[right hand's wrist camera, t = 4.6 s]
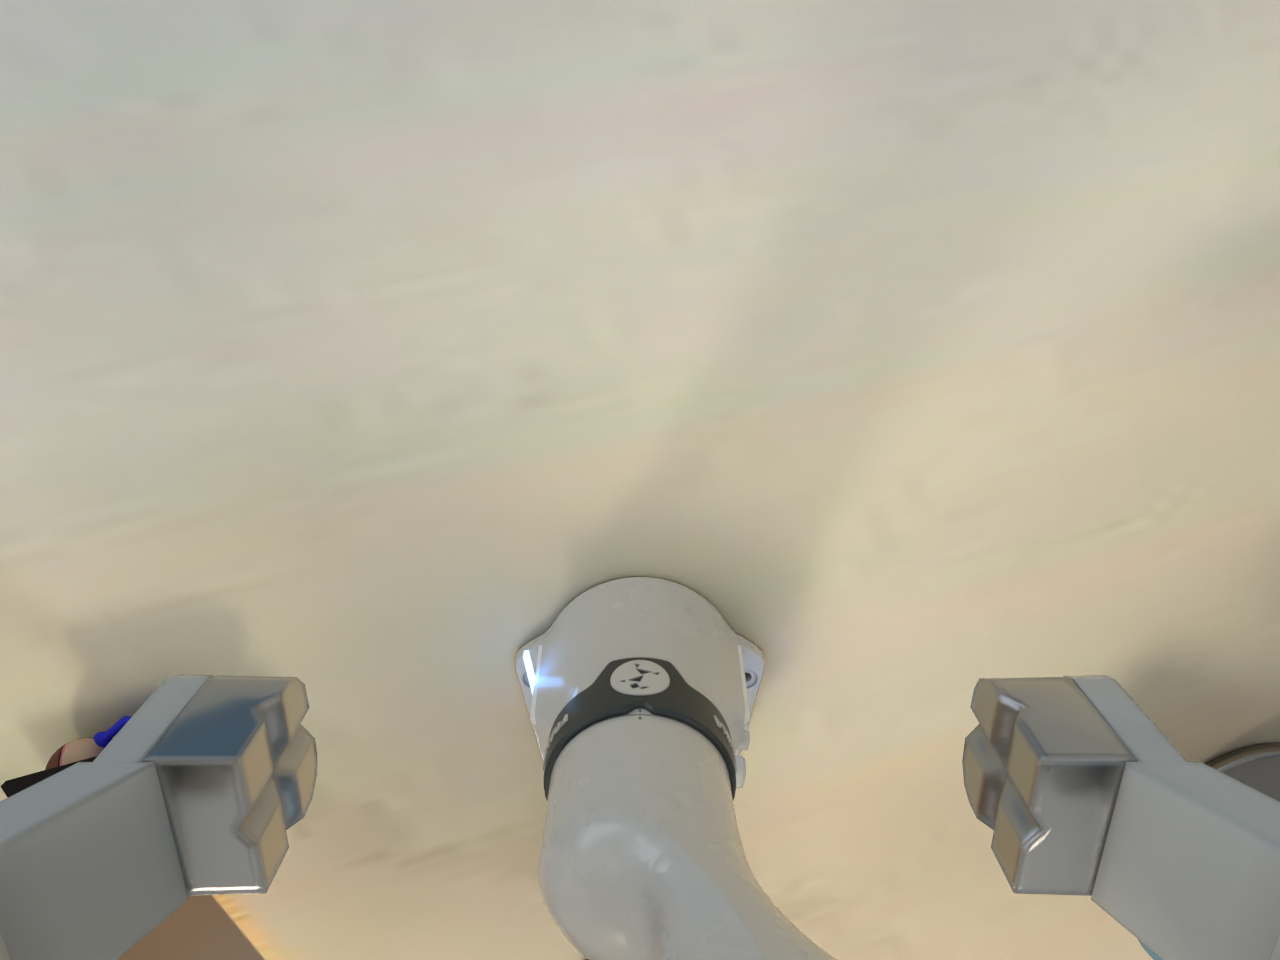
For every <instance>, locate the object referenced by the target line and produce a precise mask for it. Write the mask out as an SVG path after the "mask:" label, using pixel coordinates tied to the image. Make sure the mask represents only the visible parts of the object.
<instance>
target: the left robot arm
mask: <svg viewBox="0 0 1280 960" xmlns="http://www.w3.org/2000/svg"><path fill="white" fill-rule="evenodd" d="M1206 765H1208V766H1210V767H1212V768H1214V769H1216V770H1218V771H1220V772H1222V773H1224V774H1226V775H1228V776H1230V777H1232V778H1234V779H1236V780H1238V781H1240V782H1242V783H1244V784H1246V785H1247V786H1249V787H1251V788H1253V789H1255V790H1257V791H1259V792H1261V793H1263V794H1265V795H1267V796H1269V797H1271V798H1273V799H1275V800H1277V801H1279V802H1280V744H1279V743H1276V744H1263V745H1256V746H1251V747H1247V748H1243V749H1239V750H1236V751H1234V752H1231V753H1228V754H1226V755H1223V756H1221V757H1219V758H1217V759H1215V760H1213V761H1211V762H1210V763H1208V764H1206ZM1138 940H1139V939H1138ZM1139 942H1140V944H1141V945H1142V947H1143V948H1144V949H1145V950H1146V952H1147V953H1148V954H1149V955H1150V956H1151V957H1152V958H1153V959H1154V960H1163V959H1161V958H1160V957H1159V956H1158V955H1157V954H1156V953H1154V952H1153V951H1152V950H1151V949H1150V948H1148V947H1147V946H1146V945H1145V944H1144V943H1142V942H1141V941H1140V940H1139Z"/></svg>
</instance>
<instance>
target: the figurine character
mask: <svg viewBox="0 0 1280 960" xmlns="http://www.w3.org/2000/svg"><path fill="white" fill-rule="evenodd" d="M130 719H131V717H130V716H124V717H122V718H121V719H120V720H119V721H118V722H117V723H115V724H114V725H113V726H112V727H111V728H110V729H108V730H107V731H106V732H98V733H97V734H95V736H94V738H82V739H77V740H74V741H71V742H69V743H67V744H65V745H64V746H62V747H61V748H59V749H58V750H57V751H56V752H55V753H54V754H53V756H52V757H51V758H50V760H49V762H48V764H47V766H46V769H45V770H44V771H40V772H37V773H33V774H30V775H26V776H22V777H19V778H15V779H12V780H8V781H5V783H4V784H3V785H2V786H1V788H2V789H3V791H4V792H5V794H6V796H7V797H8V798H9V797H11V796H13V795H15V794H16V793H18V792H20V791H22V790H24V789H26V788H28V787H30V786H32V785H34V784H36V783H38V782H40V781H42V780H44V779H46V778H48V777H50V776H52V775H54V774H56V773H58V772H60V771H62V770H64V769H66V768H68V767H70V766H72V765H74V764H76V763H78V762H93V761H94V760H95V759H96V757H97V756H98V755H99V754H100V753H101V752H102V751H103V749H104V748H105V747H106V746H107V745H108V744H109V743H110V741H111V740H112V738H113V737H114V736H115V735H116V734H117V733H118V732H119V731H120V730H121V729H122V728H123V727H124V725H125V724H126V723H127V722H128V721H129V720H130Z"/></svg>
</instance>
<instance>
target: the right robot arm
mask: <svg viewBox="0 0 1280 960" xmlns="http://www.w3.org/2000/svg"><path fill="white" fill-rule="evenodd" d="M515 667H516V671H517V675H518V678H519V682H520V685H521V688H522V692H523V695H524V698H525V702H526V705H527V709H528V712H529V715H530V719H531V723H532V726H533V729H534V732H535V736H536V739H537V742H538V746H539V749H540V753H541V756H542V759H543V763H544V766H543V770H545V771H544V790H545V796H546V799H547V807H546V814H545V822H544V829H543V837H542V844H541V851H540V859H539V867H538V875H539V883H540V889H541V893H542V896H543V899H544V902H545V905H546V907H547V909H548V911H549V913H550V915H551V916H552V918H553V920H554V921H555V923H556V925H557V926H558V927H559V929H560V930H561V932H562V933H563V934H564V936H565V937H566V939H567V940H568V941H569V942H570V943H571V945H572V946H573V947H574V948H575V949H576V950H577V951H578V952H579V953H581V954H582V955H583V956H584V957H586V958H587V960H837V959H835V958H834V957H832V956H831V955H830V954H828V953H827V952H826V951H824V950H823V949H821V948H820V947H819V946H818V945H816V944H815V943H814V942H813V941H812V940H810V939H809V938H808V937H807V936H806V935H804V934H803V933H802V932H801V931H800V930H799V929H798V928H797V927H796V926H795V925H794V924H793V923H792V922H791V921H790V920H789V919H788V918H787V917H786V916H785V915H784V914H783V913H782V912H781V911H780V910H779V908H778V907H777V906H776V905H775V904H774V903H773V902H772V900H771V899H770V898H769V897H768V895H767V894H766V893H765V892H764V890H763V889H762V887H761V886H760V884H759V883H758V881H757V880H756V878H755V877H754V875H753V873H752V871H751V869H750V867H749V865H748V862H747V859H746V856H745V853H744V849H743V845H742V842H741V838H740V834H739V830H738V825H737V821H736V816H735V810H734V805H733V800H734V796H735V790H736V789H740V788H742V787H743V784H744V780H745V773H746V763H745V759H744V758H743V757H742V756H739V753H740V750H747V749H748V746H749V739H750V735H749V731H746V729H747V726H748V723H749V719H750V715H751V712H752V709H753V705H754V702H755V699H756V695H757V692H758V688H759V685H760V682H761V678H762V675H763V672H764V667H765V660H764V654H763V652H762V651H761V649H760V648H759V647H757V646H756V645H755V644H753V643H752V642H750V641H748V640H747V639H745V638H743V637H741V636H740V635H738V634H736V633H735V632H734V631H733V630H732V629H731V628H730V627H729V625H728V624H727V623H726V621H725V620H724V618H723V617H722V616H721V614H720V613H719V612H718V611H717V609H716V608H715V607H714V606H713V605H712V604H711V603H710V602H709V601H707V600H706V599H705V598H704V597H702V596H701V595H700V594H698V593H696V592H695V591H693V590H691V589H689V588H687V587H685V586H683V585H681V584H678V583H675V582H672V581H669V580H664V579H659V578H652V577H628V578H621V579H616V580H611V581H608V582H605V583H602V584H599V585H597V586H595V587H593V588H591V589H589V590H587V591H585V592H584V593H582V594H580V595H579V596H578V597H576V598H575V599H574V600H573V601H571V602H570V603H569V604H568V605H567V606H566V607H565V608H564V609H563V611H562V612H561V613H560V614H559V616H558V617H557V619H556V620H555V621H554V623H553V624H552V625H551V627H550V628H549V629H548V630H547V631H546V632H545V633H544V634H542V635H540V636H539V637H537V638H535V639H533V640H532V641H530V642H528V643H527V644H525V645H524V646H523V647H521V648H520V649H519V651H518V652H517V654H516V661H515ZM534 673H535V674H534ZM745 673H749V675H748V676H746V677H745ZM308 709H309V703H308V699H307V694H306V689H305V684H304V683H303V682H302V681H301V680H299V679H298V678H297V677H257V676H215V677H214V676H211V675H197V676H173V677H170V678H167V679H165V680H164V681H163V682H162V683H161V684H160V685H159V686H158V688H157V689H156V690H155V691H154V692H153V693H152V694H151V696H150V697H149V698H148V699H147V700H146V701H145V702H144V704H143V705H142V706H141V707H140V708H139V709H138V711H137V712H136V713H135V714H134V715H133V716H132V717H131V719H130V720H129V721H128V722H127V723H126V724H125V725H124V727H123V728H122V729H121V730H120V731H119V732H118V733H117V735H116V736H115V737H114V738H113V739H112V740H111V741H110V743H109V744H108V745H107V746H106V747H105V748H104V749H103V751H102V752H101V753H100V754H99V755H98V756H97V757H96V759H95V760H94V761H93V762H78V763H76V764H74V765H72V766H70V767H68V768H66V769H64V770H62V771H60V772H58V773H56V774H54V775H52V776H50V777H48V778H46V779H44V780H42V781H40V782H38V783H36V784H34V785H32V786H30V787H28V788H26V789H24V790H22V791H20V792H18V793H16V794H15V795H13V796H11V797H9V798H7V799H5V800H3V801H1V802H0V960H118V959H119V958H120V957H121V956H122V955H124V954H125V953H126V952H127V951H128V950H130V949H131V948H132V947H133V946H134V945H135V944H137V943H138V942H139V941H140V940H141V939H143V938H144V937H145V936H146V935H147V934H149V933H150V932H151V931H152V930H153V929H154V928H156V927H157V926H158V925H159V924H160V923H162V922H163V921H164V920H165V919H166V918H168V917H169V916H170V915H171V914H172V913H174V912H175V911H176V910H177V909H178V908H179V907H181V906H182V905H183V904H184V903H185V902H187V901H188V899H189V897H188V895H222V894H257V893H266V892H267V890H268V888H269V886H270V884H271V882H272V880H273V878H274V876H275V874H276V872H277V870H278V868H279V866H280V864H281V862H282V860H283V858H284V856H285V854H286V852H287V850H288V848H289V845H288V839H287V834H286V830H287V829H288V828H290V827H291V826H293V825H294V824H295V823H297V822H298V821H300V820H301V819H303V817H304V815H305V813H306V811H307V809H308V807H309V804H310V802H311V800H312V796H313V792H314V787H315V782H316V777H317V751H316V744H315V738H314V737H313V736H312V735H311V734H310V733H309V732H308V731H307V730H306V729H305V728H304V727H303V726H302V725H301V724H300V723H301V721H302V720H303V718H304V716H305V714H306V712H307V711H308ZM971 709H972V711H973V712H974V714H975V716H976V718H977V720H978V721H979V723H980V724H979V725H978V726H977V727H976V728H975V729H974V730H973V731H972V732H971V733H970V734H969V735H968V736H967V737H966V738H965V745H964V753H963V761H962V762H963V775H964V785H965V789H966V792H967V796H968V799H969V802H970V805H971V807H972V809H973V811H974V813H975V815H976V817H977V819H979V820H980V821H982V822H983V823H985V824H986V825H987V826H989V827H990V828H992V829H993V830H994V834H993V839H992V845H991V848H992V850H993V852H994V854H995V856H996V858H997V860H998V862H999V864H1000V866H1001V868H1002V870H1003V872H1004V874H1005V876H1006V878H1007V880H1008V882H1009V884H1010V886H1011V888H1012V890H1013V892H1014V893H1021V894H1056V895H1092V897H1091V900H1093V901H1094V902H1095V903H1096V904H1097V905H1099V906H1100V907H1101V908H1102V909H1103V910H1105V911H1106V912H1107V913H1108V914H1109V915H1110V916H1112V917H1113V918H1114V919H1115V920H1116V921H1118V922H1119V923H1120V924H1121V925H1122V926H1123V927H1125V928H1126V929H1127V930H1128V931H1129V932H1131V933H1132V934H1133V935H1134V936H1135V937H1137V938H1138V939H1139V940H1140V941H1141V942H1142V943H1144V944H1145V945H1146V946H1147V947H1148V948H1150V949H1151V950H1152V951H1153V952H1154V953H1156V954H1157V955H1158V956H1159V957H1160V958H1161V959H1163V960H1280V802H1279V801H1277V800H1275V799H1273V798H1271V797H1269V796H1267V795H1265V794H1263V793H1261V792H1259V791H1257V790H1255V789H1253V788H1251V787H1249V786H1247V785H1246V784H1244V783H1242V782H1240V781H1238V780H1236V779H1234V778H1232V777H1230V776H1228V775H1226V774H1224V773H1222V772H1220V771H1218V770H1216V769H1214V768H1212V767H1210V766H1208V765H1206V764H1204V763H1202V762H1187V761H1186V760H1185V759H1184V757H1183V756H1182V755H1181V754H1180V753H1179V752H1178V751H1177V749H1176V748H1175V747H1174V746H1173V745H1172V744H1171V743H1170V741H1169V740H1168V739H1167V738H1166V737H1165V736H1164V735H1163V733H1162V732H1161V731H1160V730H1159V729H1158V728H1157V727H1156V725H1155V724H1154V723H1153V722H1152V721H1151V720H1150V719H1149V717H1148V716H1147V715H1146V714H1145V713H1144V712H1143V711H1142V709H1141V708H1140V707H1139V706H1138V705H1137V704H1136V703H1135V701H1134V700H1133V699H1132V698H1131V697H1130V696H1129V695H1128V693H1127V692H1126V691H1125V690H1124V689H1123V688H1122V687H1121V685H1120V684H1119V683H1118V682H1117V681H1116V680H1115V679H1113V678H1111V677H1109V676H1106V675H1088V676H1063V677H1041V678H979V680H978V682H977V684H976V686H975V688H974V692H973V697H972V703H971Z"/></svg>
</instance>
